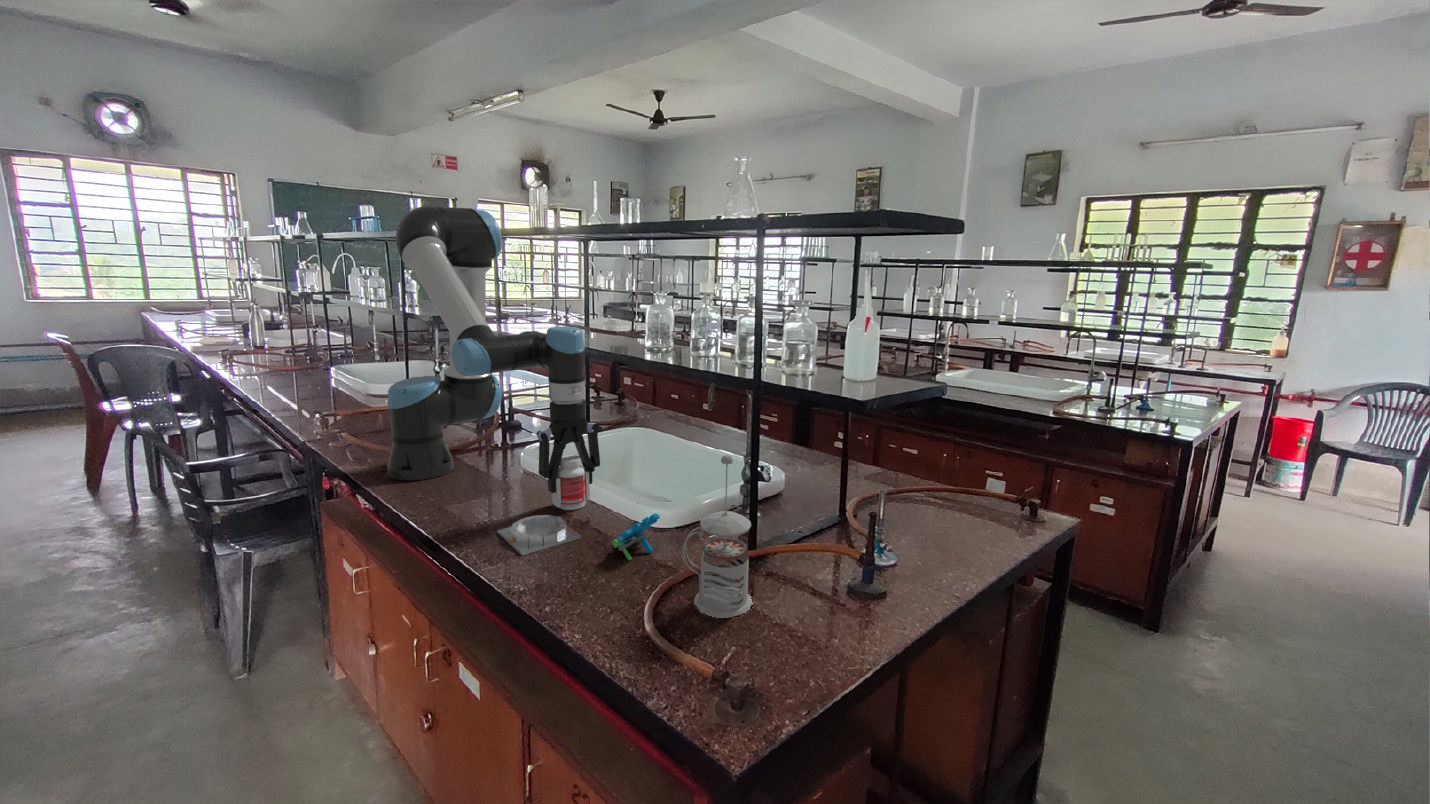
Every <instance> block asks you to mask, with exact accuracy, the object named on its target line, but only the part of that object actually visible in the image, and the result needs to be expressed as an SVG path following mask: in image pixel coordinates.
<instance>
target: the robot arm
mask: <svg viewBox="0 0 1430 804" xmlns="http://www.w3.org/2000/svg"><path fill="white" fill-rule="evenodd" d="M502 237H503V236H502V231H501V230H500V226H499V224H498V223H497V221H496V219H495V217H494V216H493V215H492V214H491V213H490V212H488V211H486V210H483V209H477V208H472V207H470V208H469V207H453V206H452V207H447V206H434V205H423V206H418V207H416V208H414V209H412V210H410V211H408V212H407V213H406V214H405V215H404V216H403V218H402V219H401V220H400V221H399V224H398V226H397V228H396V232H395V245H396V250H397V252H398V255H399V257H400V259H401V260H402V262H403V265H405V267H407V268H408V269H410V270H412V271H413V272H414V274H415V275H416V276H417V278H418V280H419V282H420V283H421V285H422V287H423V289H424V291H425V293H426V294H427V296H428V297H429V299H430V301H431V302H432V304H433V306H434V308H435V309H436V311H437V312H438V315H439V316H440V318H441V320H442V321H443V324H444V325H445V327H446V328H447V330H448V332H449V358H450V359H449V361H450V362H449V365H448V366H447V367H446V368H445V369H444V371H443V376H444V377H443V380H439V378H438V377H437V376H434V375H423V376H413V377H409V378H406V379H403V380H400V381H397V382H395V383H393V384H392V385H390V387H389V388H388V390H387V401H388V402H387V407H388V411H389V412H388V414H389V422H390V430H391V441H392V446H391V450H390V454H389V458H388V461H387V465H386V467H387V469H386V471H387V476H388V477H389V478H390V479H393V480H398V481H422V480H428V479H433V478H437V477H440V476H444V475H446V474H448V473H450V472H451V471H452V470H453V469H454V468H455V467H454V459H453V455H452V454H451V452H450V450H449V447H448V445H447V442H446V441H445V439H444V438H445V437H444V427H448V426H451V425H453V426H454V425H457V424H458V425H459V424H463V423H469V422H475V421H476V422H477V421H481V420H483V419H487V418H490V417H493V416H494V415H495V414H496V413H497V412H498V410H499V408H500V406H501V404H502V403H501V402H502V388H501V386H500V381H499V379H498V378H497V376H496V375H494V374H496V373H503V372H512V371H513V372H514V371H520V370H527V369H536V368H541V369H544V370H547V376H548V377H547V378H548V396H549V397H548V399H549V400H550V402H549V418H550V424H549V426H548V428H547V429H544V430H543V431H542V430H538V431H537V432H536V436H537V439H538V442H539V445H538V475H539V476H540V477H542V478H544V479H547V487H548V488H547V489H548V492H549V493H550V494H551V496H552V497H551V498H552V499H551V500H552V505H554V506H555V507H557V508H558V509H560V508H559V507H561V486H560V478H558V477H557V474H558V470H559V467H560V462H561V458H562V456H563V455H564V450H565V449H566V446H567V445H568V444H570V443H573V444H574V445H575V448H576V450H577V453H578V456H579V457H580V458H581V466H582V467H583V468H584V471H585V498H586V501H590V499H591V497H590V495H591V494H590V485H592V484H593V473H594V472H595V470H596V468H599V467H600V466H601V458H600V448H599V436H598V434H599V430H600V425H599V424H597V423H595V422H593V421H590V422H588V420H587V418H586V416H587V403H586V401H585V400H584V399H586V379H585V377H586V376H585V375H586V372H585V370H586V368H585V366H586V365H585V349H586V347H585V344H584V342H585V341H584V332H583V330H582V329H581V328H579V327H576V326H553V327H550V328H548V329H547V330H546V333H545V332H539V331H537V330H534V331H532V330H526V331H522V332H519V334H508V335H496V334H495V333H494V332H493V330H492V329H491V327H490V325H489V323H488V322H487V321H486V319H487V317H486V316H487V315H486V314H487V313H486V311H487V309H486V308H487V307H486V304H487V303H486V300H487V299H486V289H487V287H486V285H487V284H486V279H487V277H486V276H487V275H486V274H487V272H488V271H489V270H491V269H492V268H493V260H494V259H497V258H498V257H500V255H501V252H502V249H503V238H502ZM585 432H587V443H588V449H587V446H586V444H585V443H586V441H585V439H584V436H583V435H584V433H585ZM551 435H552V436H553V437H554V439H553V442H552V443H553V447H552V452H551V456H550V440H551ZM588 451H589V452H588Z"/></svg>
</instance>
